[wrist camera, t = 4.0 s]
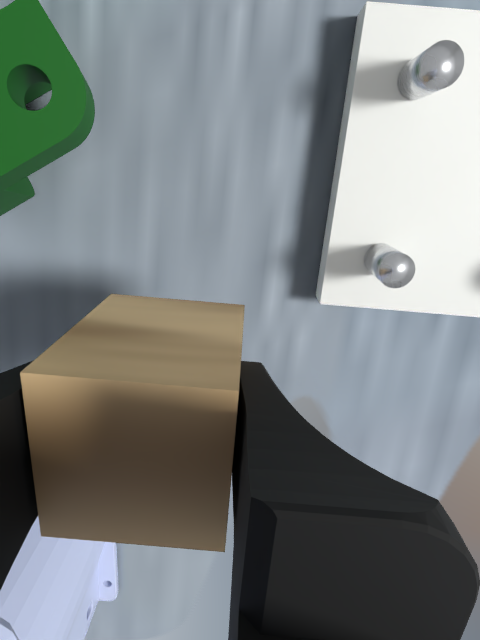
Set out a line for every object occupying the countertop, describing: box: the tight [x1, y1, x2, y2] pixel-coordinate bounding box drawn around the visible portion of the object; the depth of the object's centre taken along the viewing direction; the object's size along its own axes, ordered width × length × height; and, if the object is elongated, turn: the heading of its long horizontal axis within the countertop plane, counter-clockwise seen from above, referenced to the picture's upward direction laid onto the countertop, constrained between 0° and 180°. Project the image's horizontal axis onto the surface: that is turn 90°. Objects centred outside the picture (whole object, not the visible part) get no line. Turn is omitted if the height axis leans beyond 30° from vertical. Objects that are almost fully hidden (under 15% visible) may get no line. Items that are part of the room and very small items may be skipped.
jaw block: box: [20, 294, 245, 552], centre depth 10 cm, size 4×4×5 cm
